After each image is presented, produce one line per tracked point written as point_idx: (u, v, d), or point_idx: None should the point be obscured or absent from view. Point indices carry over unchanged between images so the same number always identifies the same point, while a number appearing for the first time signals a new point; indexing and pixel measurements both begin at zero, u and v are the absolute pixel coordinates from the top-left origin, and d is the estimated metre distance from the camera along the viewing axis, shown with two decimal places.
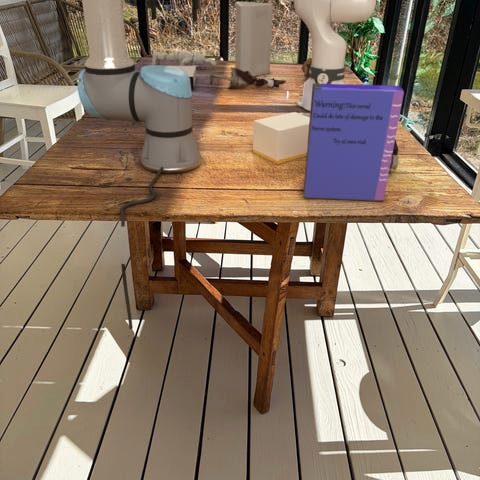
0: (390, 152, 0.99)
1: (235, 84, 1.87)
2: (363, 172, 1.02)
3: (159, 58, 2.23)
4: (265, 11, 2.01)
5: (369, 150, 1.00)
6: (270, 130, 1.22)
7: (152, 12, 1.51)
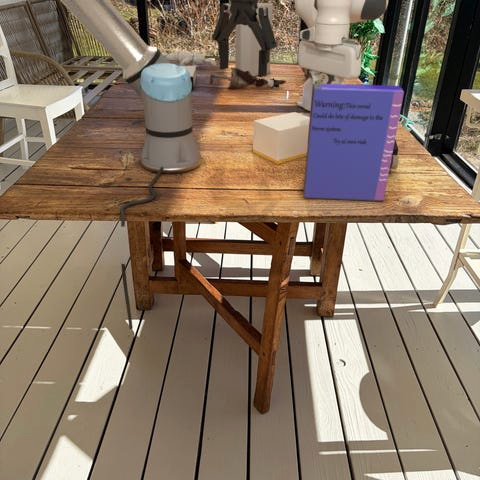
0: (390, 152, 0.99)
1: (235, 84, 1.87)
2: (363, 172, 1.02)
3: None
4: None
5: (369, 150, 1.00)
6: (270, 130, 1.22)
7: (221, 61, 1.32)
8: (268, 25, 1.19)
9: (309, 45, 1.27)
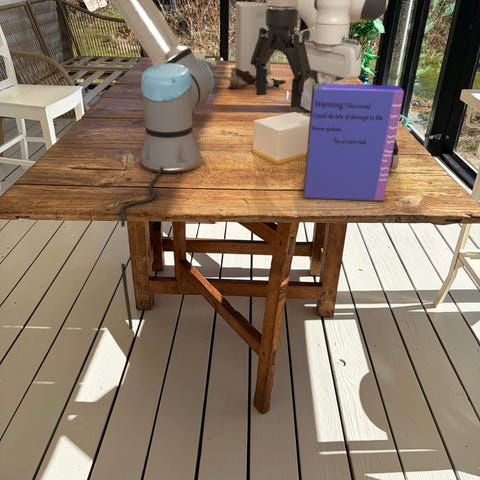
0: (390, 152, 0.99)
1: (235, 84, 1.87)
2: (363, 172, 1.02)
3: None
4: (265, 11, 2.01)
5: (369, 150, 1.00)
6: (270, 130, 1.22)
7: (257, 87, 1.24)
8: (303, 53, 1.10)
9: (309, 45, 1.27)
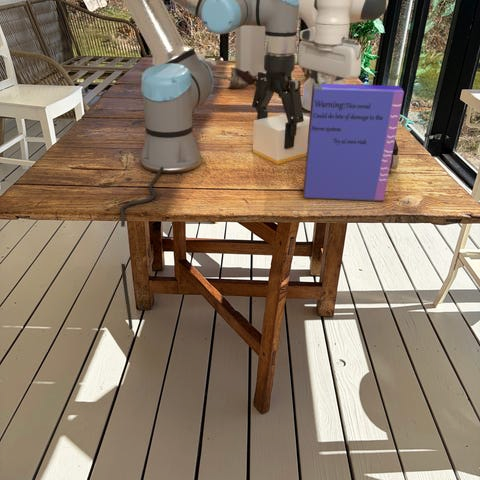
0: (390, 152, 0.99)
1: (235, 84, 1.87)
2: (363, 172, 1.02)
3: None
4: None
5: (369, 150, 1.00)
6: (270, 130, 1.22)
7: None
8: (298, 99, 1.16)
9: (309, 45, 1.27)
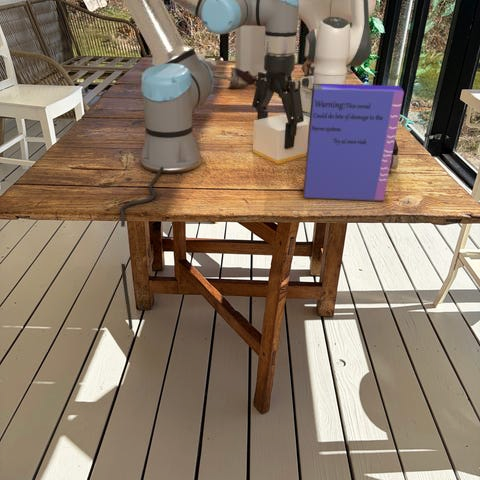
0: (390, 152, 0.99)
1: (235, 84, 1.87)
2: (363, 172, 1.02)
3: None
4: None
5: (369, 150, 1.00)
6: (271, 130, 1.22)
7: None
8: (298, 99, 1.16)
9: (308, 91, 1.34)
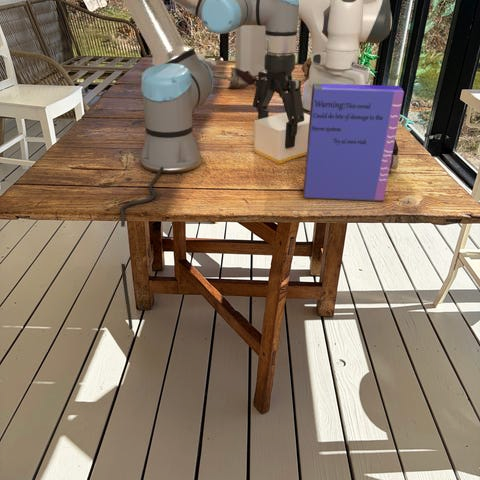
0: (390, 152, 0.99)
1: (235, 84, 1.87)
2: (363, 172, 1.02)
3: None
4: None
5: (369, 150, 1.00)
6: (271, 130, 1.22)
7: None
8: (298, 99, 1.16)
9: (319, 68, 1.33)
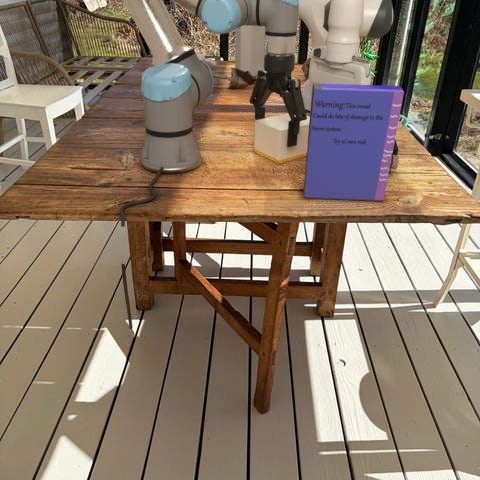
0: (390, 152, 0.99)
1: (235, 84, 1.87)
2: (363, 172, 1.02)
3: None
4: None
5: (369, 150, 1.00)
6: (272, 130, 1.22)
7: None
8: (299, 97, 1.15)
9: (320, 62, 1.32)
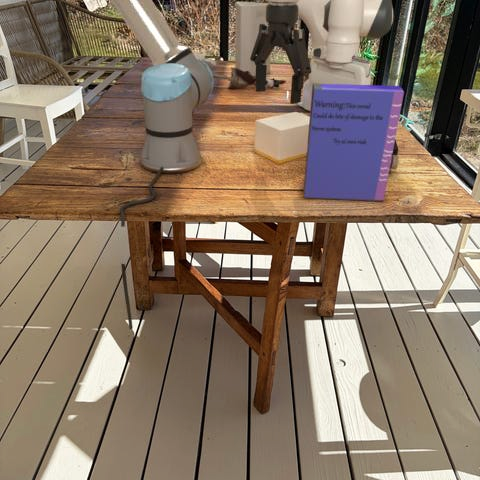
0: (390, 152, 0.99)
1: (235, 84, 1.87)
2: (363, 172, 1.02)
3: None
4: (265, 11, 2.01)
5: (369, 150, 1.00)
6: (272, 130, 1.22)
7: (257, 83, 1.24)
8: (303, 49, 1.09)
9: (320, 62, 1.32)
